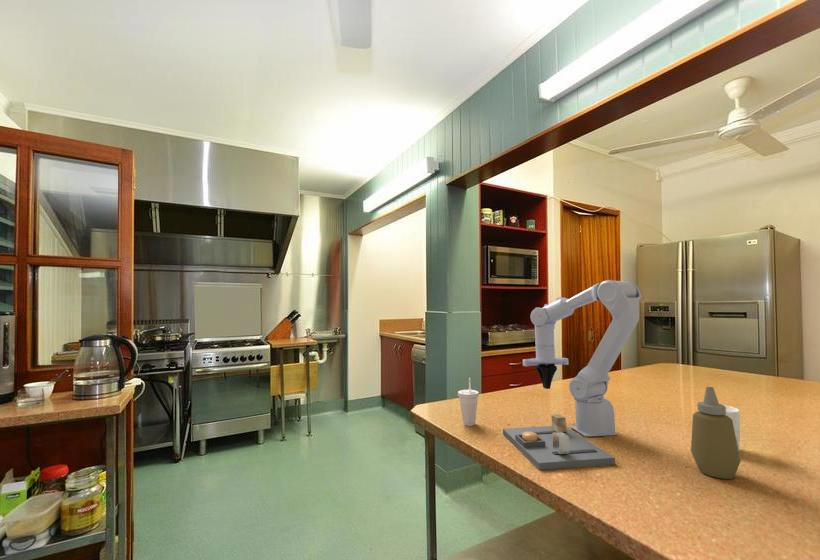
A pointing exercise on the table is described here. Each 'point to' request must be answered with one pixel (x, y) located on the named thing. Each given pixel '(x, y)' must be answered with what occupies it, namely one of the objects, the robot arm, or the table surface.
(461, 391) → the smoothie
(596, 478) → the table surface
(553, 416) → the birch slider
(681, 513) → the table surface
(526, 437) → the orange button
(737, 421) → the white cup
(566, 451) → the metal slider
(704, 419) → the squeeze bottle
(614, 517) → the table surface
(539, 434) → the control board
